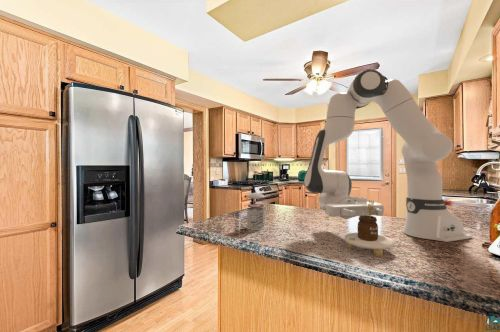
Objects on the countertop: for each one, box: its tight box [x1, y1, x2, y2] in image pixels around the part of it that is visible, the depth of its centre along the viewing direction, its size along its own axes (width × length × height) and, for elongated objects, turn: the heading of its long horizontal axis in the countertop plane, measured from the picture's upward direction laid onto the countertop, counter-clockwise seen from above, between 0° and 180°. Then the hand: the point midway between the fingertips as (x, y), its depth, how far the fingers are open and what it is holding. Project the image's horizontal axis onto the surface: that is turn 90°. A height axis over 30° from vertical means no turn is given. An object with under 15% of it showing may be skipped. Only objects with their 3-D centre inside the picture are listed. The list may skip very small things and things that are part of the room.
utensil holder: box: [357, 199, 379, 241], centre depth 78 cm, size 6×6×12 cm
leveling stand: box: [344, 232, 394, 258], centre depth 78 cm, size 14×14×4 cm
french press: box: [245, 170, 271, 231], centre depth 107 cm, size 10×12×25 cm
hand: (367, 213), depth 78 cm, fingers open, 8 cm apart
